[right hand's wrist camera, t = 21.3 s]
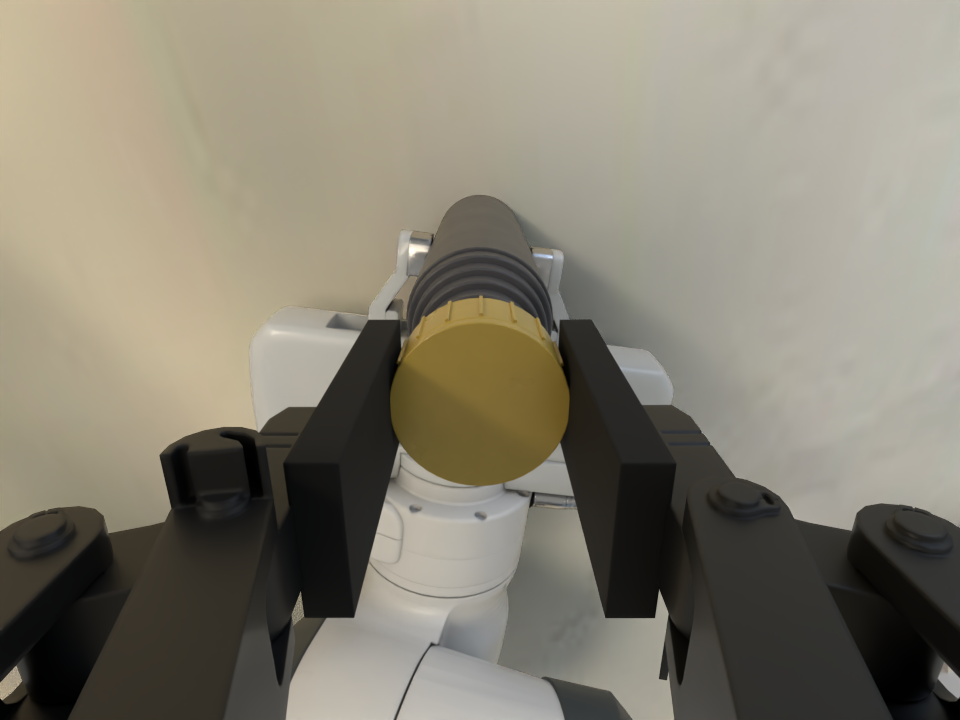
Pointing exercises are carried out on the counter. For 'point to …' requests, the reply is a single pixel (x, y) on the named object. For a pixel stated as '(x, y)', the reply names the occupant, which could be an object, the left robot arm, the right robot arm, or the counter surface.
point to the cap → (479, 393)
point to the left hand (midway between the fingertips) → (481, 241)
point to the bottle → (479, 263)
